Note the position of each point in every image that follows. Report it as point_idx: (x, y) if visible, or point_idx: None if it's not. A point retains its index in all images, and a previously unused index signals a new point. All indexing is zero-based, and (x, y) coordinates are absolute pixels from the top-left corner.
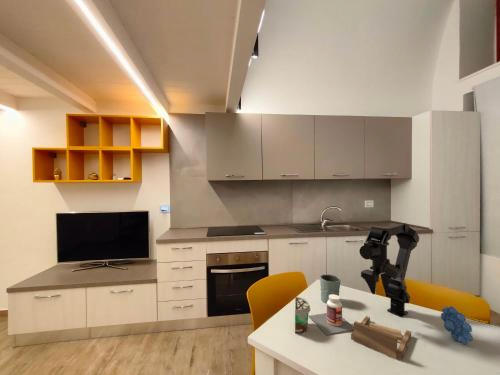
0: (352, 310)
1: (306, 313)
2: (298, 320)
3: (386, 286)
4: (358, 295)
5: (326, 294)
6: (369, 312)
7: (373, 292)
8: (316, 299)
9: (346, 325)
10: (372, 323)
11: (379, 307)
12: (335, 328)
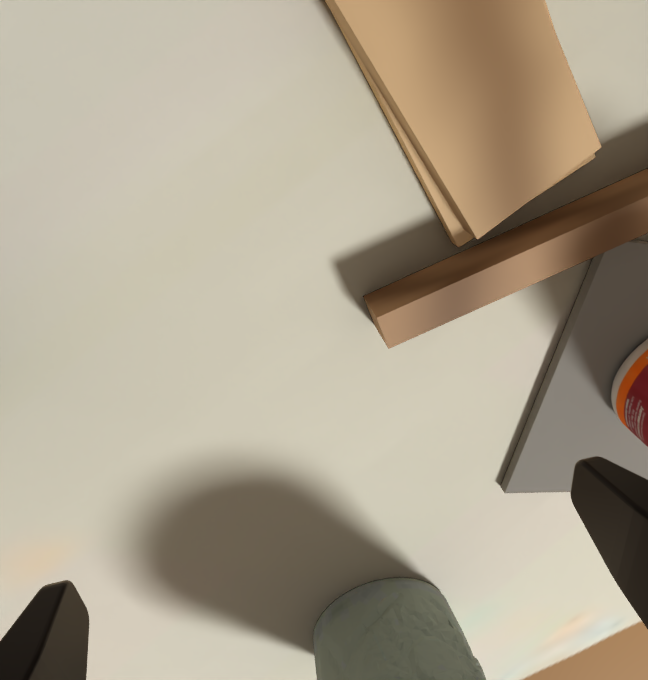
0: (338, 484)
1: None
2: None
3: (42, 667)
4: None
5: (481, 670)
6: (209, 424)
7: (640, 492)
8: None
9: (630, 309)
10: (466, 216)
11: (5, 472)
12: None
